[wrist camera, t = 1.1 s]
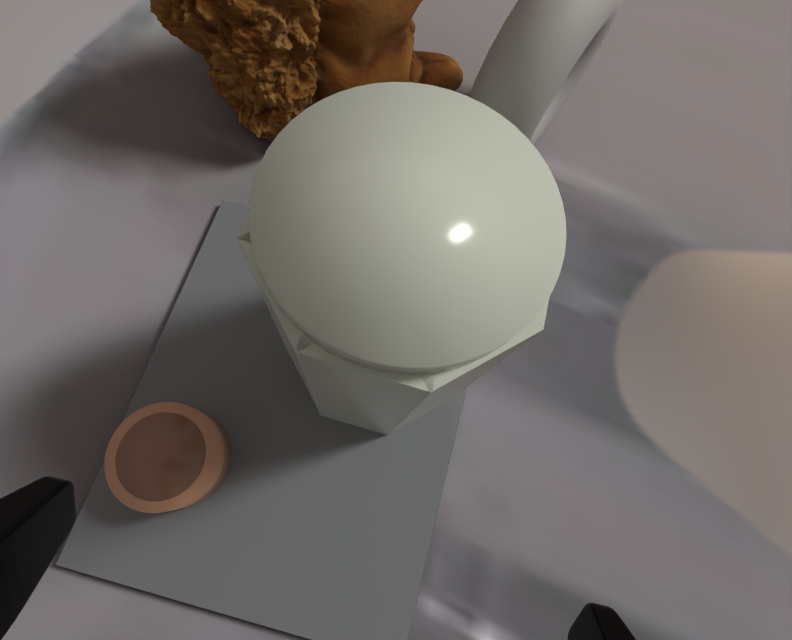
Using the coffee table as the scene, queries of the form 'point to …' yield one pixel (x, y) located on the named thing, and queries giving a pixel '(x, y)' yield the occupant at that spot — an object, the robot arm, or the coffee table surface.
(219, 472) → the pinch bowl
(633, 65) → the coffee table surface
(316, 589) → the slate mat
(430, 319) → the pale green faceted cylinder
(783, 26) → the coffee table surface
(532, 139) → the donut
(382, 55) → the stuffed squirrel
